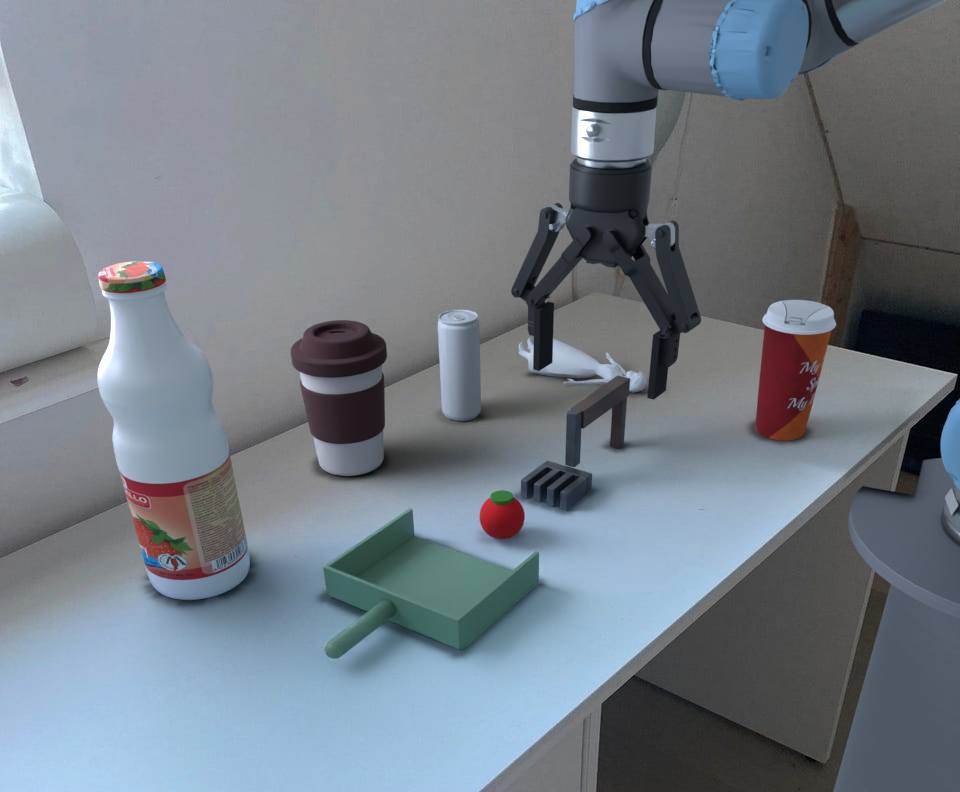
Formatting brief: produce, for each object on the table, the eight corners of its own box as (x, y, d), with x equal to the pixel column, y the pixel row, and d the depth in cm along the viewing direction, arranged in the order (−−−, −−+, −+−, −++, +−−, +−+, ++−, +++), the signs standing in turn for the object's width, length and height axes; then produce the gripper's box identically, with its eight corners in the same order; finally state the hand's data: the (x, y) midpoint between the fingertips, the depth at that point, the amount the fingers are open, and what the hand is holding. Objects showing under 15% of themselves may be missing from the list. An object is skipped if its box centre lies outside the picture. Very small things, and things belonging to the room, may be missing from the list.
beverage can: (472, 403, 122) (469, 306, 114) (487, 418, 118) (485, 319, 111) (436, 410, 120) (431, 312, 113) (450, 425, 117) (446, 326, 109)
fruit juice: (261, 588, 90) (202, 277, 73) (157, 612, 87) (70, 296, 70) (241, 539, 97) (182, 245, 80) (144, 561, 94) (61, 261, 77)
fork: (597, 438, 113) (601, 371, 108) (641, 449, 110) (646, 382, 105) (520, 496, 102) (520, 425, 98) (566, 511, 100) (569, 439, 95)
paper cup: (807, 449, 109) (832, 325, 101) (739, 438, 112) (757, 316, 103) (819, 421, 115) (843, 302, 106) (754, 411, 118) (772, 294, 109)
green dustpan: (411, 537, 96) (409, 507, 94) (538, 582, 89) (539, 552, 87) (265, 641, 83) (259, 609, 81) (401, 704, 76) (398, 671, 74)
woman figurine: (547, 318, 132) (668, 352, 124) (545, 350, 135) (663, 385, 127) (500, 345, 124) (626, 383, 117) (498, 378, 127) (621, 417, 119)
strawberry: (533, 532, 97) (533, 492, 94) (508, 552, 94) (508, 511, 91) (496, 520, 99) (495, 480, 96) (471, 539, 96) (469, 499, 93)
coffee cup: (363, 491, 104) (348, 354, 95) (289, 472, 108) (267, 338, 99) (412, 453, 111) (403, 322, 102) (341, 436, 115) (326, 309, 106)
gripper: (476, 151, 93) (479, 366, 106) (721, 183, 81) (691, 420, 94) (519, 137, 98) (517, 344, 111) (756, 166, 86) (723, 393, 99)
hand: (597, 380), depth 102 cm, fingers open, 13 cm apart
